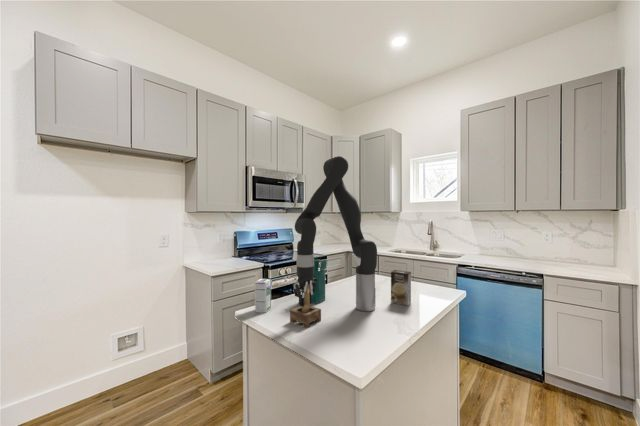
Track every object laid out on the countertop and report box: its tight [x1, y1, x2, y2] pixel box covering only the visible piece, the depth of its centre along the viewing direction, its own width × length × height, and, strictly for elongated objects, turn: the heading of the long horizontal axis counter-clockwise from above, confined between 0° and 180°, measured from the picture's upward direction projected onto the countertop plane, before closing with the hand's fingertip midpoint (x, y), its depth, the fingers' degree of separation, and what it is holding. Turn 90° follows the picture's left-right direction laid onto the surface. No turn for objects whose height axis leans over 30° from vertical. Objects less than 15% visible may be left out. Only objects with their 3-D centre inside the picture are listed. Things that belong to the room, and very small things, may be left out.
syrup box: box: [254, 278, 272, 313], centre depth 128 cm, size 6×6×14 cm
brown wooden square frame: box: [289, 305, 322, 329], centre depth 114 cm, size 9×9×5 cm
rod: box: [301, 284, 311, 313], centre depth 114 cm, size 3×3×16 cm
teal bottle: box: [312, 258, 328, 304], centre depth 141 cm, size 10×8×22 cm
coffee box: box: [390, 269, 412, 306], centre depth 138 cm, size 9×6×16 cm
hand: (305, 304), depth 114 cm, fingers open, 4 cm apart
